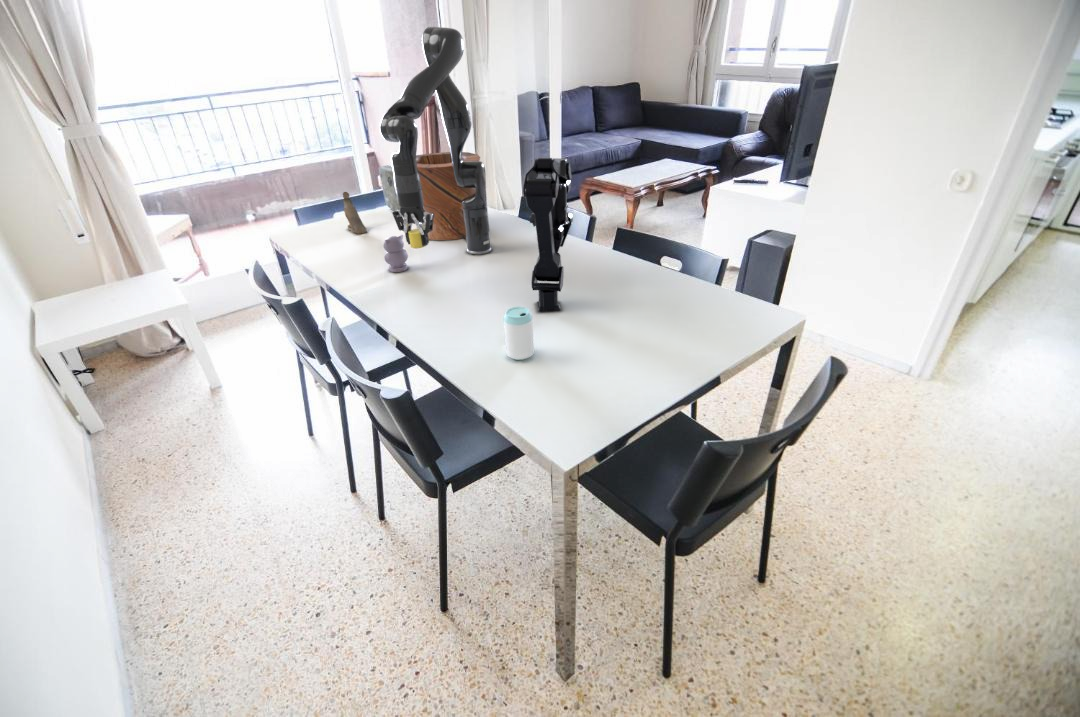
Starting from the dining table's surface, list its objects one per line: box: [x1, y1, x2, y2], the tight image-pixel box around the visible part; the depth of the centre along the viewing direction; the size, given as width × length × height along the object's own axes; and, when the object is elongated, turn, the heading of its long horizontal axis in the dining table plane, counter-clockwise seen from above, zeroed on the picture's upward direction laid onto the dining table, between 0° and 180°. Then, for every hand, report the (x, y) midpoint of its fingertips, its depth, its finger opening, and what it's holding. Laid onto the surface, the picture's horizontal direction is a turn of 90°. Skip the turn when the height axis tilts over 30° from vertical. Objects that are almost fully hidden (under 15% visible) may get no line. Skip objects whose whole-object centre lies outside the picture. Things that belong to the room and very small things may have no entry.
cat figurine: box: [382, 234, 409, 273], centre depth 178 cm, size 8×8×12 cm
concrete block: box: [378, 164, 400, 212], centre depth 245 cm, size 27×9×20 cm, turn 39°
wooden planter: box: [416, 151, 481, 241], centre depth 212 cm, size 34×35×29 cm
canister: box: [408, 228, 426, 249], centre depth 156 cm, size 5×5×5 cm
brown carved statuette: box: [342, 191, 368, 235], centre depth 221 cm, size 12×6×18 cm, turn 37°
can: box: [503, 306, 535, 361], centre depth 123 cm, size 7×7×12 cm
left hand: (418, 244), depth 157 cm, fingers closed on canister, 4 cm apart
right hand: (558, 251), depth 160 cm, fingers open, 9 cm apart
